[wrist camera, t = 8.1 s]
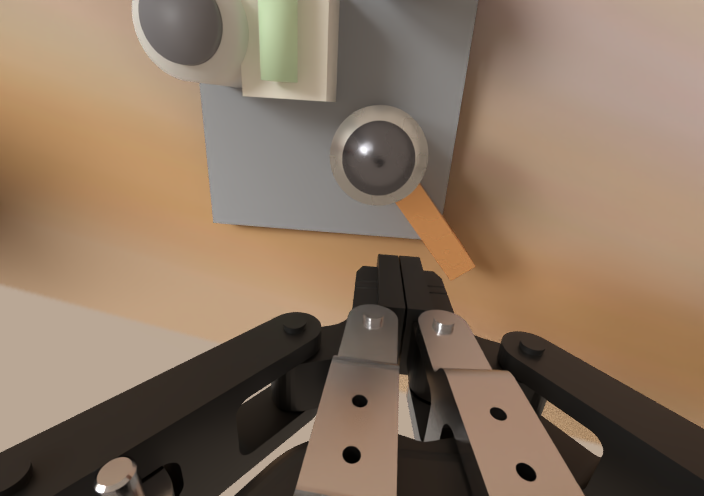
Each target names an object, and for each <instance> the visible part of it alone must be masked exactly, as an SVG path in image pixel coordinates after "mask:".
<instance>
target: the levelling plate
mask: <svg viewBox="0 0 704 496" xmlns="http://www.w3.org/2000/svg"><path fill="white" fill-rule="evenodd" d="M477 6H478V0H132V18H133V24H134V28H135V31H136V34H137V37H138V39H139V42H140V44H141V45H142V47H143V49H144V51H145V52H146V54H147V55H148V57H149V58H150V59H151V60H152V61H153V62H154V63H155V64H156V65H157V66H158V67H159V68H160V69H161V70H163V71H164V72H165V73H167V74H169V75H170V76H172V77H175V78H177V79H180V80H183V81H190V82H197V83H200V93H201V103H202V113H203V123H204V133H205V143H206V153H207V163H208V173H209V183H210V193H211V203H212V213H213V223H222V224H235V225H247V226H260V227H272V228H285V229H297V230H310V231H322V232H334V233H347V234H359V235H372V236H384V237H397V238H409V239H421V238H420V237H419V235H418V234H417V233H416V231H415V230H414V228H413V227H412V226H411V224H410V223H409V221H408V220H407V219H406V217H405V216H404V214H403V213H402V212H401V210H400V209H399V207H398V206H397V205H396V203H393V204H389V205H383V206H373V205H367V204H363V203H361V202H358V201H356V200H354V199H353V198H351V197H350V196H348V195H347V194H346V193H345V192H344V191H343V190H342V189H341V188H340V186H339V185H338V183H337V182H336V180H335V178H334V176H333V173H332V170H331V165H330V148H331V143H332V140H333V137H334V135H335V133H336V131H337V129H338V128H339V126H340V125H341V123H342V122H343V121H344V120H345V119H346V118H347V117H348V116H350V115H351V114H352V113H354V112H356V111H358V110H359V109H362V108H365V107H368V106H373V105H388V106H392V107H395V108H398V109H401V110H402V111H404V112H406V113H407V114H409V115H410V116H411V117H412V118H413V119H414V120H415V121H416V122H417V123H418V124H419V126H420V127H421V129H422V131H423V133H424V135H425V138H426V141H427V145H428V164H427V168H426V171H425V174H424V176H423V178H422V180H421V182H420V183H421V184H422V186H423V187H424V189H425V190H426V192H427V193H428V195H429V196H430V198H431V199H432V201H433V202H434V204H435V205H436V207H437V208H438V210H439V211H440V212H441V214H442V215H443V210H444V204H445V198H446V192H447V186H448V180H449V174H450V168H451V162H452V156H453V150H454V144H455V138H456V132H457V126H458V120H459V114H460V108H461V102H462V96H463V90H464V84H465V78H466V72H467V66H468V60H469V54H470V48H471V42H472V36H473V30H474V24H475V18H476V12H477Z"/></svg>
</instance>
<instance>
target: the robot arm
mask: <svg viewBox="0 0 704 496" xmlns="http://www.w3.org/2000/svg"><path fill="white" fill-rule="evenodd" d="M399 374H404V375H408V380H409V381H408V388H407V394H406V396H407V402H408V407H409V412H410V417H411V423H412V427H413V432H414V438H415V440H414V439H411V438H408V437H405V436H402V435H399V434H398V398H399V397H398V396H399ZM270 383H271V386H270V387H268V388H267V389H265V390H263V391H262V392H260V393H259V394H257V395H256V396H254V397H253V398H251V399H250V400H248V401H247V402H245V403H243V402H244V401H245V400H246V399H247V398H248V397H250V396H251V395H253V394H254V393H256V392H258V391H259V390H261V389H262V388H264V387H265V386H267V385H268V384H270ZM547 400H548V401H549V402H550V403H552V404H553V405H555V406H556V407H558V408H559V409H561V410H562V411H563V412H565V413H566V414H568V415H569V416H571V417H572V418H573V419H575V420H576V421H578V422H579V423H581V424H582V425H584V426H585V427H586V428H588V429H589V430H591V431H592V432H593V433H594V434H595V435H596V436H597V437H598V439H599V440H600V442H601V444H602V446H603V455H602V457H598V456H596V455H594V454H593V453H591V452H590V451H588V450H587V449H586V448H585V447H583V446H582V445H580V444H579V443H578V442H576V441H575V440H574V439H572V438H571V437H570V436H568V435H567V434H566V433H564V432H563V431H562V430H560V429H559V428H557V427H556V426H555V425H553V424H552V423H551V422H549V421H548V420H547V419H545V418H544V417H543V416H541V414H542V411H543V409H544V406H545V403H546V401H547ZM242 403H243V404H242ZM241 404H242V405H241ZM316 414H317V415H316ZM315 416H316V418H315V422H314V425H313V429H312V432H311V436H310V439H309V441H307V442H305V443H302V444H300V445H298V446H295V447H294V448H292V449H290V450H288V451H286V452H285V453H283V454H282V455H280V456H279V457H277V458H276V459H275V460H274V461H273V462H271V463H270V464H269V465H268V466H267V467H266V468H265V469H264V470H262V471H261V472H260V473H259V474H258V475H257V476H256V477H254V478H253V479H252V480H251V481H250V482H249V483H248V484H247V485H246V486H244V488H242V489H241V490H240V491H239V492H238V493H237V494H236V495H235V496H704V429H703V428H701V427H699V426H697V425H696V424H694V423H692V422H690V421H688V420H687V419H685V418H683V417H681V416H680V415H678V414H676V413H674V412H673V411H671V410H669V409H667V408H665V407H664V406H662V405H660V404H658V403H657V402H655V401H653V400H651V399H650V398H648V397H646V396H644V395H642V394H641V393H639V392H637V391H635V390H634V389H632V388H630V387H628V386H627V385H625V384H623V383H621V382H619V381H618V380H616V379H614V378H612V377H611V376H609V375H607V374H605V373H604V372H602V371H600V370H598V369H596V368H595V367H593V366H591V365H589V364H588V363H586V362H584V361H582V360H581V359H579V358H577V357H575V356H573V355H572V354H570V353H568V352H566V351H565V350H563V349H561V348H559V347H558V346H556V345H554V344H552V343H550V342H549V341H547V340H545V339H543V338H541V337H539V336H537V335H534V334H531V333H526V332H518V331H516V332H509V333H507V334H505V335H504V336H503V338H502V341H501V344H500V343H497V342H493V341H490V340H486V339H483V338H480V337H477V336H475V335H474V334H473V333H472V331H471V329H470V327H469V325H468V324H467V322H466V321H465V320H464V319H463V318H461V317H460V316H458V315H456V314H454V311H453V309H452V306H451V303H450V300H449V298H448V295H447V292H446V289H445V288H444V284H443V281H442V279H441V278H440V277H439V276H438V275H437V274H436V273H434V272H433V271H423V268H422V264H421V261H420V258H419V257H409V256H399V258H398V256H395V255H382V254H378V259H377V267H370V266H363V267H361V268H360V269H359V270H358V271H357V273H356V282H355V291H354V299H353V308H352V310H351V311H350V312H349V315H348V319H347V320H345V321H343V322H341V323H339V324H336V325H331V326H324V327H321V323H320V322H319V320H318V319H317V318H315V317H314V316H312V315H310V314H307V313H301V312H292V313H286V314H282V315H280V316H278V317H276V318H274V319H271V320H269V321H267V322H265V323H263V324H261V325H259V326H257V327H255V328H253V329H251V330H249V331H247V332H245V333H243V334H241V335H239V336H237V337H235V338H233V339H231V340H229V341H227V342H225V343H223V344H221V345H219V346H217V347H214V348H213V349H211V350H208V351H207V352H204V353H202V354H200V355H198V356H196V357H194V358H192V359H190V360H188V361H186V362H184V363H182V364H180V365H178V366H176V367H174V368H172V369H170V370H168V371H166V372H164V373H162V374H160V375H158V376H155V377H153V378H152V379H149V380H147V381H145V382H143V383H141V384H139V385H137V386H135V387H133V388H131V389H129V390H127V391H125V392H123V393H121V394H119V395H117V396H115V397H113V398H111V399H109V400H107V401H105V402H103V403H100V404H98V405H96V406H94V407H93V408H90V409H88V410H86V411H84V412H82V413H80V414H78V415H76V416H74V417H72V418H70V419H68V420H66V421H64V422H62V423H60V424H58V425H56V426H54V427H52V428H50V429H48V430H46V431H43V432H41V433H39V434H37V435H35V436H33V437H31V438H29V439H27V440H25V441H23V442H21V443H19V444H17V445H15V446H13V447H11V448H9V449H7V450H5V451H3V452H1V453H0V496H219V495H220V494H221V493H222V492H224V491H225V490H226V489H227V488H229V486H231V485H232V484H233V483H235V482H236V481H237V480H238V479H239V478H241V477H242V476H243V475H244V474H246V473H247V472H248V471H249V470H251V469H252V468H253V467H254V466H255V465H257V464H258V463H259V462H260V461H261V460H263V459H264V458H265V457H266V456H268V455H269V454H270V453H271V452H273V451H274V450H275V449H276V448H277V447H279V446H280V445H281V444H282V443H284V442H285V441H286V440H287V439H288V438H290V437H291V436H292V435H293V434H295V433H296V432H297V431H298V430H300V429H301V428H302V427H303V426H305V425H306V424H307V423H308V422H309V421H311V420H312V419H313V418H314V417H315Z"/></svg>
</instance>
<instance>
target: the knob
mask: <svg viewBox="0 0 704 496" xmlns="http://www.w3.org/2000/svg"><path fill="white" fill-rule="evenodd" d="M427 164H428V145H427V141H426V138H425V135H424V133H423V131H422V129H421V127H420V126H419V124H418V123H417V122H416V121H415V120H414V119H413V118H412V117H411V116H410V115H409V114H407V113H406V112H404V111H402V110H401V109H398V108H395V107H392V106H388V105H373V106H368V107H365V108H362V109H359V110H358V111H356V112H354V113H352V114H351V115H350V116H348V117H347V118H346V119H345V120H344V121H343V122H342V123H341V125H340V126H339V128H338V129H337V131H336V133H335V135H334V137H333V140H332V143H331V148H330V165H331V170H332V173H333V176H334V178H335V180H336V182H337V183H338V185H339V186H340V188H341V189H342V190H343V191H344V192H345V193H346V194H347V195H348V196H350V197H351V198H353V199H354V200H356V201H358V202H361V203H363V204H367V205H373V206H383V205H389V204H393V203H396V205H397V206H398V207H399V209H400V210H401V212H402V213H403V214H404V216H405V217H406V219H407V220H408V221H409V223H410V224H411V226H412V227H413V228H414V230H415V231H416V233H417V234H418V235H419V237H420V238H421V240H422V241H423V242H424V244H425V245H426V247H427V248H428V250H429V251H430V252H431V254H432V255H433V257H434V258H435V259H436V261H437V262H438V264H439V265H440V266H441V268H442V269H443V271H444V272H445V273H446V275H447V276H448V278H449V279H450V280H453V279H455V278H457V277H458V276H460V275H462V274H464V273H465V272H467V271H469V270H471V269H472V268H474V267H475V265H474V263H473V262H472V260H471V258H470V257H469V255H468V253H467V252H466V250H465V248H464V247H463V245H462V244H461V242H460V241H459V239H458V238H457V236H456V235H455V233H454V232H453V230H452V229H451V227H450V226H449V224H448V223H447V221H446V220H445V218H444V217H443V215H442V214H441V212H440V211H439V210H438V208H437V207H436V205H435V204H434V202H433V201H432V199H431V198H430V196H429V195H428V193H427V192H426V190H425V189H424V187H423V186H422V184H421V183H420V182H421V180H422V178H423V176H424V174H425V171H426V168H427Z"/></svg>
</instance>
